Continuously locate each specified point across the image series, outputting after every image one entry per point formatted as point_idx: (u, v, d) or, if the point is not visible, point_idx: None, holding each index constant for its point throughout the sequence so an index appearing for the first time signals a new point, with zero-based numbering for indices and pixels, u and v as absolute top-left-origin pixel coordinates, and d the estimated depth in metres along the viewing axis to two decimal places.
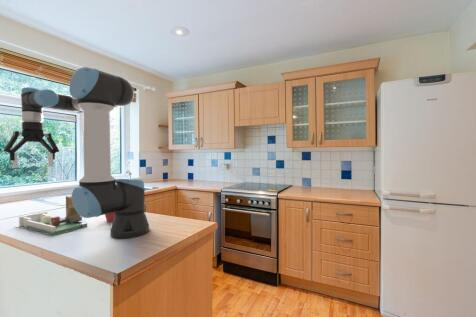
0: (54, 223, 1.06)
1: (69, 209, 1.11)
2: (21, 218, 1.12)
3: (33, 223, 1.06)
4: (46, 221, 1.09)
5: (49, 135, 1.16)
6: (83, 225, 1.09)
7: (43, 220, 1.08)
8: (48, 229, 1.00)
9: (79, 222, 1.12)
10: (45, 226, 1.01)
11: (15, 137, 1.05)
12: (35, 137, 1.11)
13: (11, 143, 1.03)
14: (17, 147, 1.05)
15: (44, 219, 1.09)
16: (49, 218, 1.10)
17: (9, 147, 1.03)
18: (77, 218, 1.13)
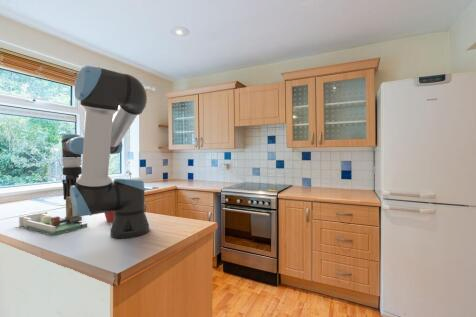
0: (54, 223, 1.06)
1: (69, 209, 1.11)
2: (21, 218, 1.12)
3: (33, 223, 1.06)
4: (46, 221, 1.09)
5: None
6: (83, 225, 1.09)
7: (43, 220, 1.08)
8: (48, 229, 1.00)
9: (79, 222, 1.12)
10: (45, 226, 1.01)
11: (63, 185, 1.15)
12: None
13: (63, 191, 1.15)
14: (66, 195, 1.14)
15: (44, 219, 1.09)
16: (49, 218, 1.10)
17: (64, 195, 1.15)
18: (77, 218, 1.13)
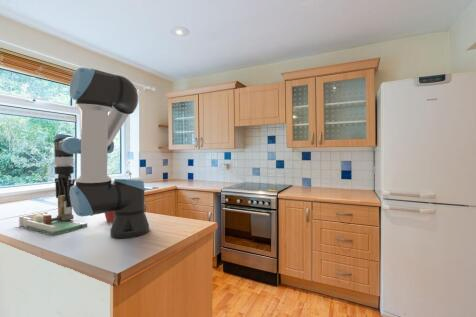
0: (46, 221, 1.09)
1: (60, 207, 1.14)
2: (21, 218, 1.12)
3: (33, 223, 1.06)
4: None
5: (68, 181, 1.13)
6: (83, 225, 1.09)
7: (33, 220, 1.13)
8: (48, 229, 1.00)
9: (79, 222, 1.12)
10: (45, 226, 1.01)
11: (55, 184, 1.18)
12: None
13: (56, 190, 1.18)
14: (58, 193, 1.17)
15: None
16: None
17: (56, 194, 1.18)
18: (69, 216, 1.16)
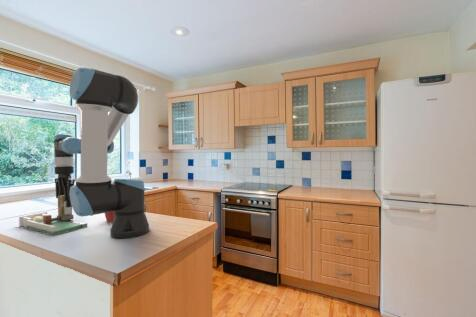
0: (46, 221, 1.09)
1: (60, 207, 1.14)
2: (21, 218, 1.12)
3: (33, 223, 1.06)
4: None
5: (68, 181, 1.13)
6: (83, 225, 1.09)
7: None
8: (48, 229, 1.00)
9: (79, 222, 1.12)
10: (45, 226, 1.01)
11: (55, 184, 1.18)
12: None
13: (56, 190, 1.18)
14: (58, 193, 1.17)
15: None
16: None
17: (56, 194, 1.18)
18: (69, 216, 1.16)
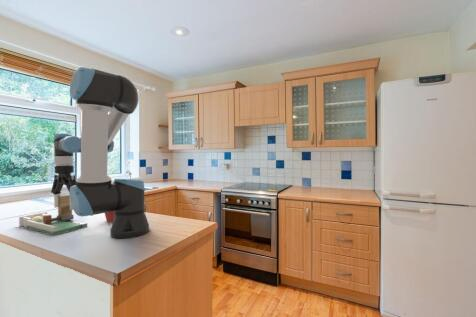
0: (46, 221, 1.09)
1: (60, 207, 1.14)
2: (21, 218, 1.12)
3: (33, 223, 1.06)
4: None
5: (68, 177, 1.13)
6: (83, 225, 1.09)
7: None
8: (48, 229, 1.00)
9: (79, 222, 1.12)
10: (45, 226, 1.01)
11: (54, 180, 1.18)
12: None
13: None
14: (55, 189, 1.18)
15: None
16: None
17: (52, 189, 1.19)
18: (69, 216, 1.16)
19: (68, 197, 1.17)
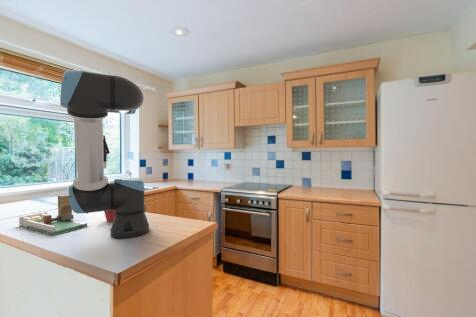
0: (46, 221, 1.09)
1: (60, 207, 1.14)
2: (21, 218, 1.12)
3: (33, 223, 1.06)
4: None
5: None
6: (83, 225, 1.09)
7: None
8: (48, 229, 1.00)
9: (79, 222, 1.12)
10: (45, 226, 1.01)
11: None
12: None
13: None
14: None
15: None
16: None
17: None
18: (69, 216, 1.16)
19: (68, 197, 1.17)
